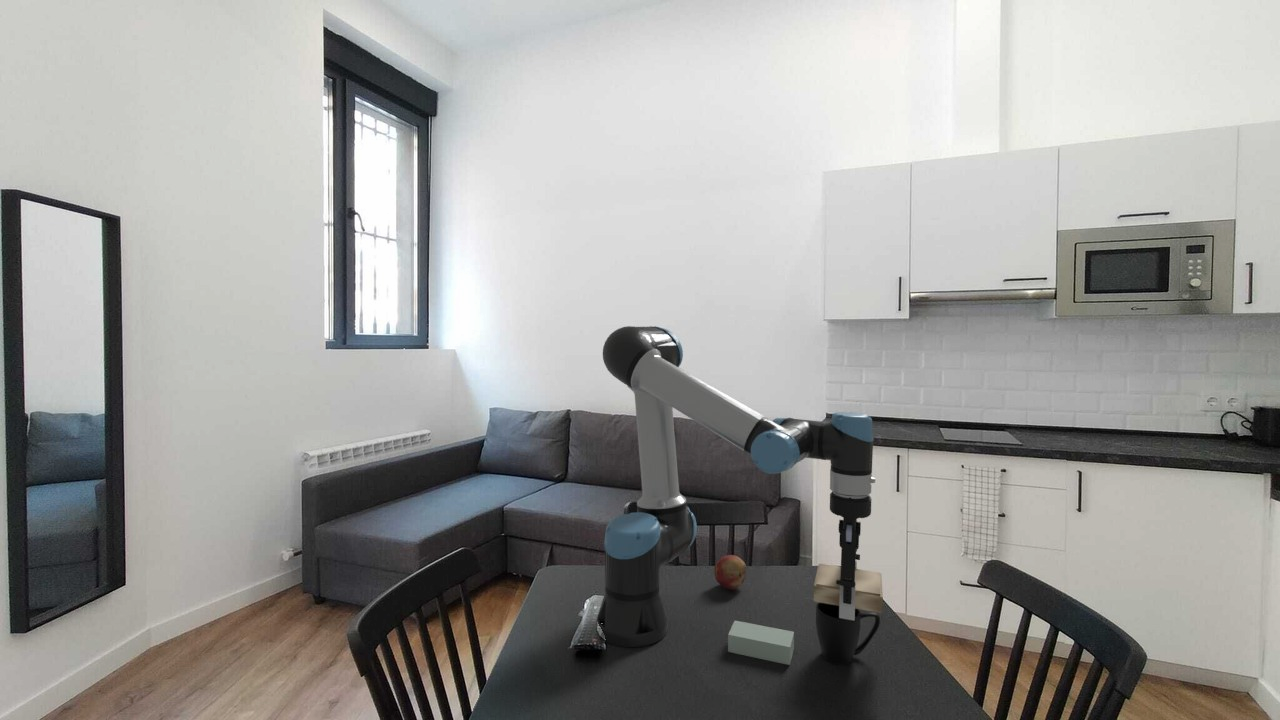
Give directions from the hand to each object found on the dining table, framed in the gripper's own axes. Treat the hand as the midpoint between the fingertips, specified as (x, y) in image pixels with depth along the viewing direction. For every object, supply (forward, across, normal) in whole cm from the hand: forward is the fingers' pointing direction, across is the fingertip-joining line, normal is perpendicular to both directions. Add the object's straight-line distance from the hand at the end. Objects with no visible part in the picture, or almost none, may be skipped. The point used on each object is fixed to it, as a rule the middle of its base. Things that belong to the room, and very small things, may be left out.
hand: (847, 604), depth 111 cm
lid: (-2, 0, 0) cm, 2 cm away
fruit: (+11, +21, +28) cm, 37 cm away
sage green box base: (+11, -4, +16) cm, 19 cm away
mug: (+11, 0, 0) cm, 11 cm away
